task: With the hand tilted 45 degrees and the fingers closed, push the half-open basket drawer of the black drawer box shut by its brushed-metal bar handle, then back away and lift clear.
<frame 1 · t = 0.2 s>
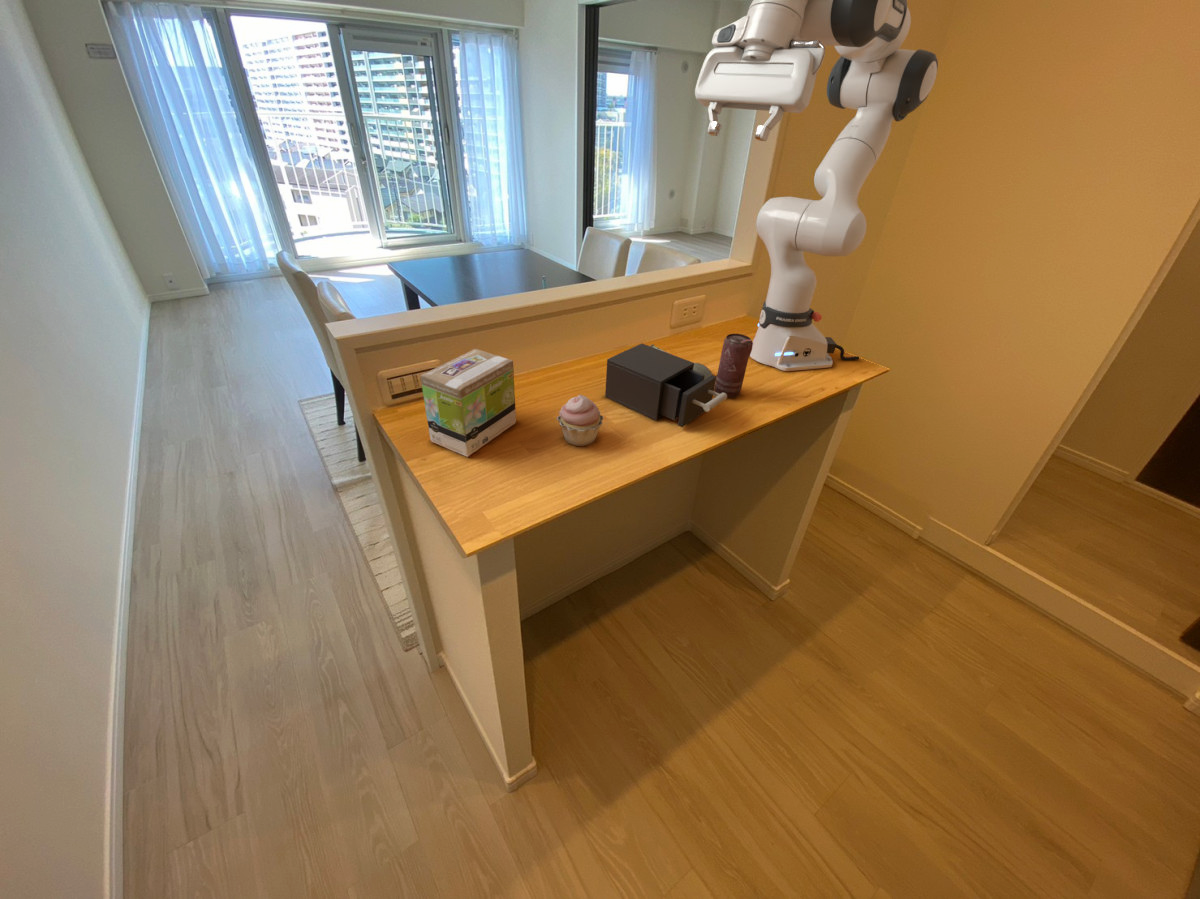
hand: (735, 137, 84), 52 cm above the table, tool tilted 20°, fingers open, 8 cm apart
black drawer box: (646, 399, 114), on the table
basket drawer: (681, 394, 106), point 5 cm above the table, slide at 5.0 cm
can: (727, 393, 118), on the table
cupcake: (579, 438, 99), on the table
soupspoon: (678, 365, 129), on the table
tea box: (475, 433, 99), on the table
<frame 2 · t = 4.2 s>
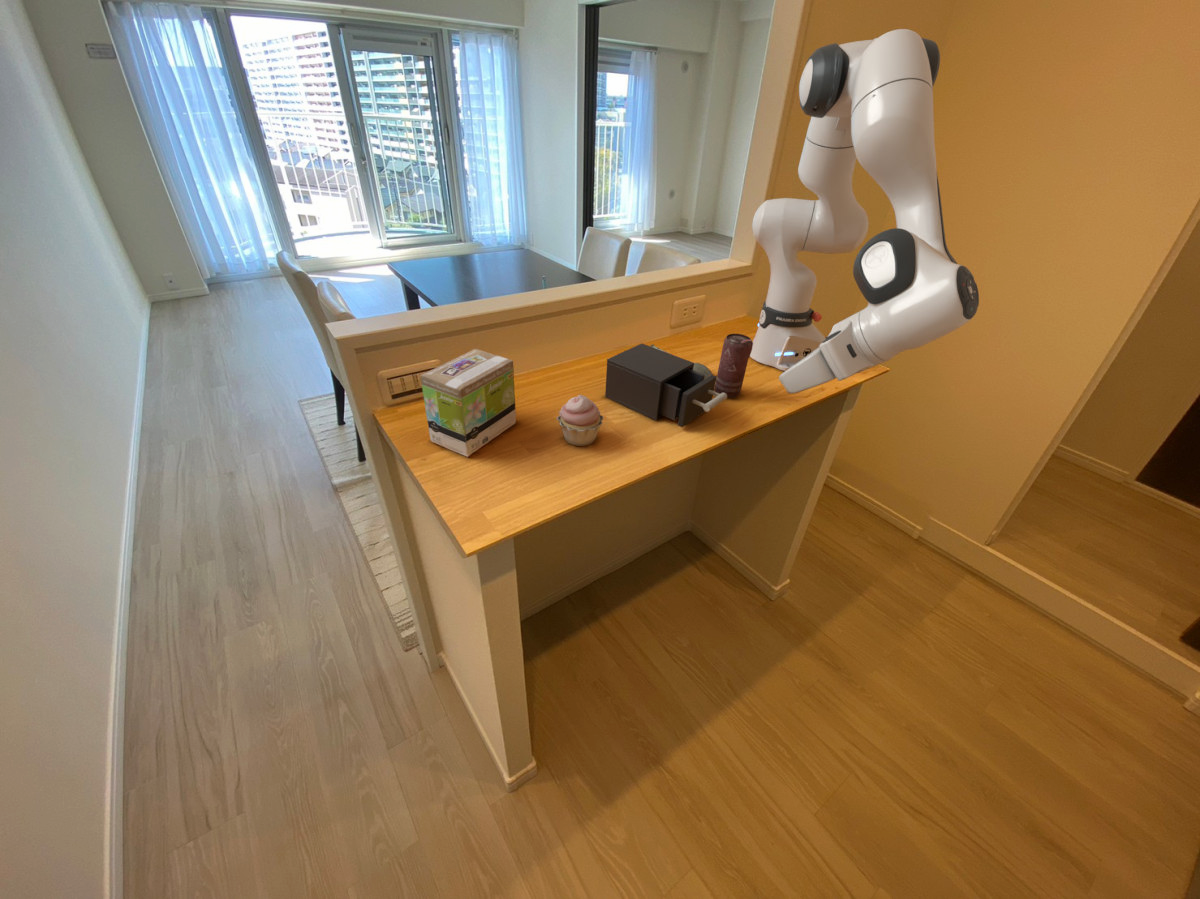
hand: (783, 378, 89), 16 cm above the table, tool tilted 45°, fingers closed
nothing on the table moved.
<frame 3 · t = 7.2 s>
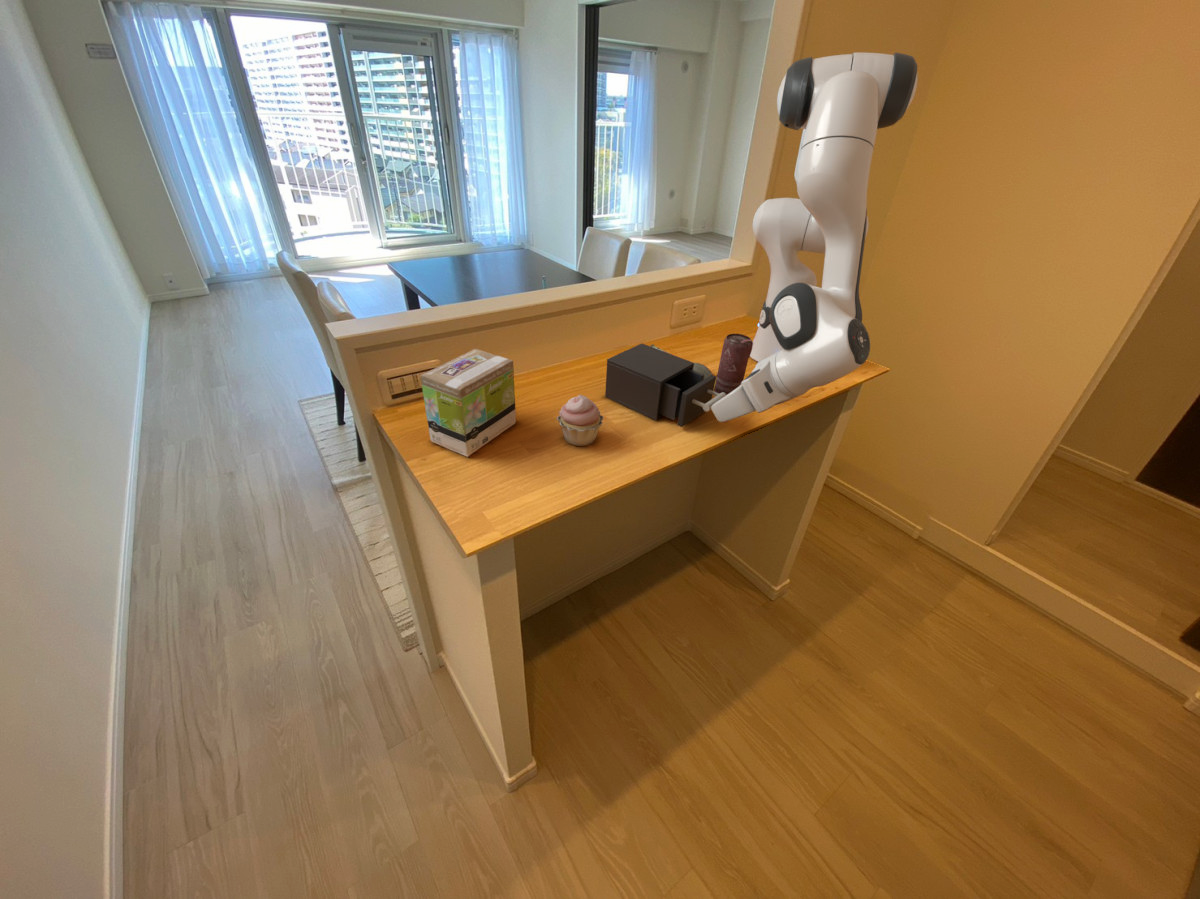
hand: (720, 405, 101), 6 cm above the table, tool tilted 45°, fingers closed, pressing on basket drawer
basket drawer: (681, 394, 106), point 5 cm above the table, slide at 4.9 cm, touching gripper
everything else where it was.
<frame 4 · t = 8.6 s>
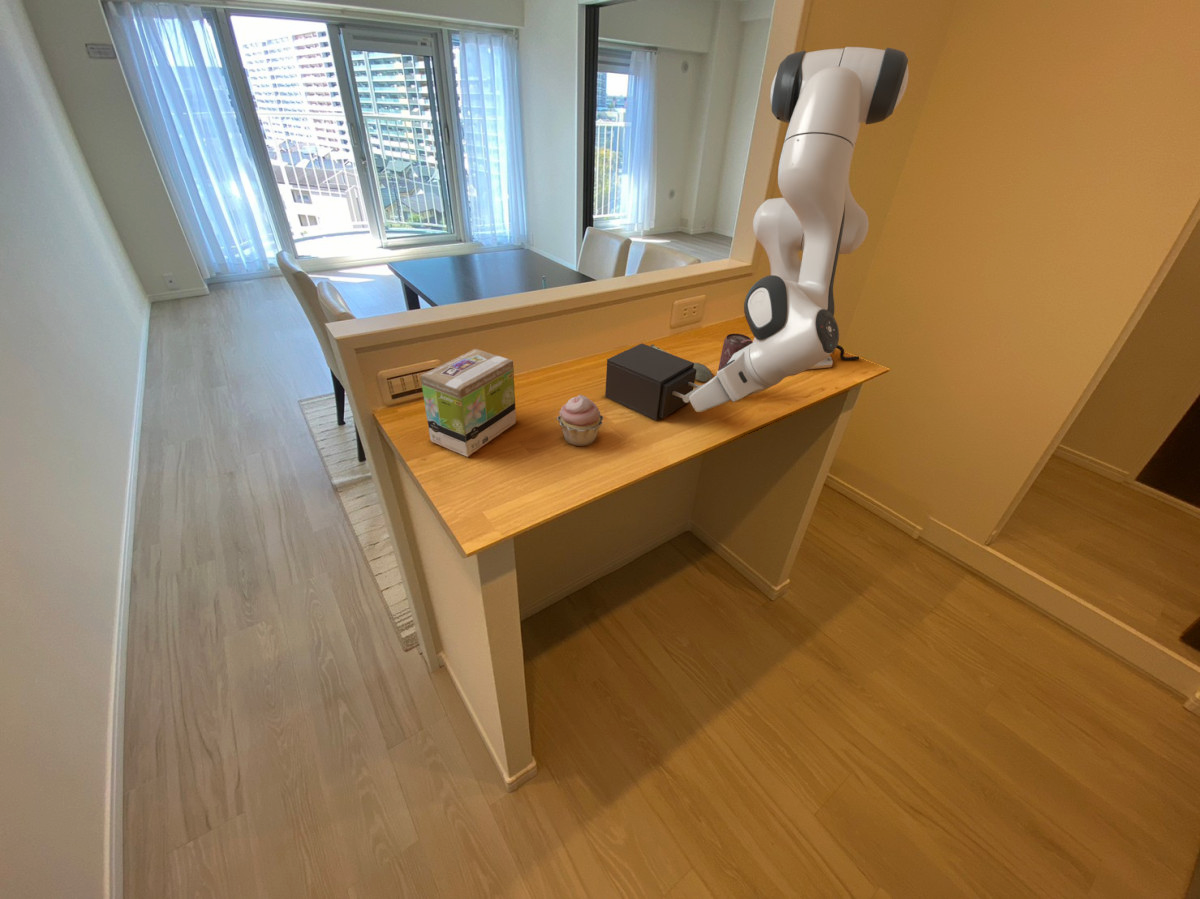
hand: (700, 397, 103), 6 cm above the table, tool tilted 45°, fingers closed, pressing on basket drawer
basket drawer: (662, 386, 109), point 5 cm above the table, slide at 0.0 cm, touching black drawer box, gripper
everything else where it was.
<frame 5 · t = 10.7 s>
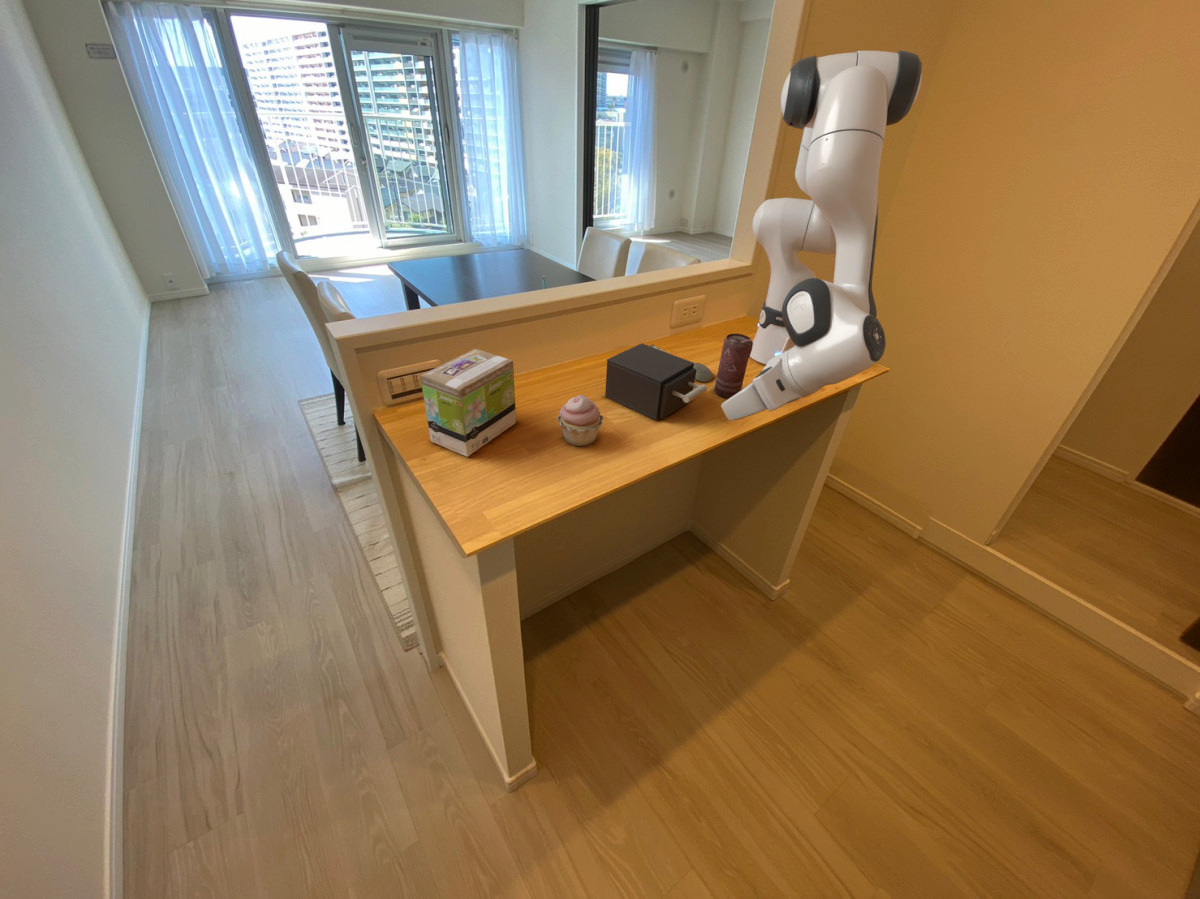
hand: (730, 404, 99), 7 cm above the table, tool tilted 45°, fingers closed
basket drawer: (662, 386, 109), point 5 cm above the table, slide at 0.0 cm
everything else where it was.
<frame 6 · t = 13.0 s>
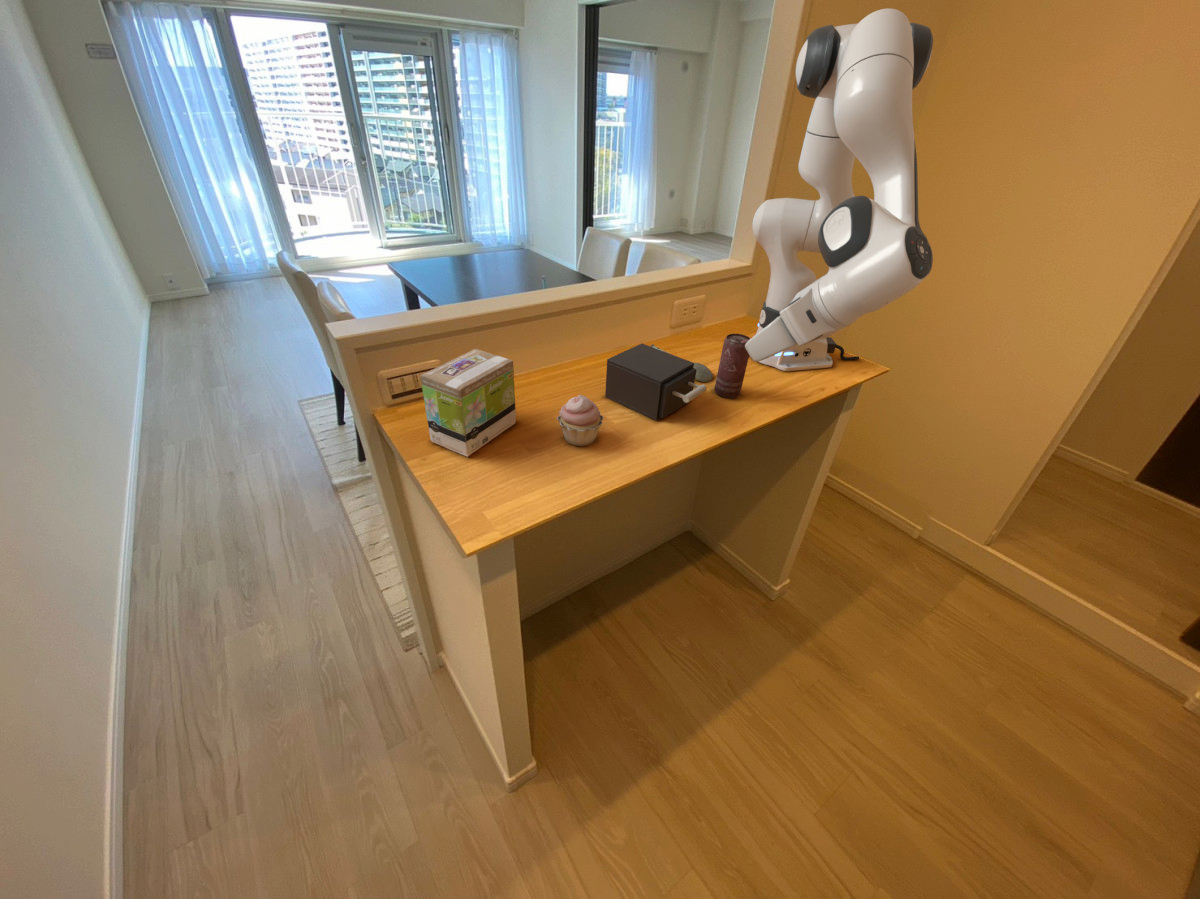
hand: (754, 349, 91), 20 cm above the table, tool tilted 45°, fingers closed
nothing on the table moved.
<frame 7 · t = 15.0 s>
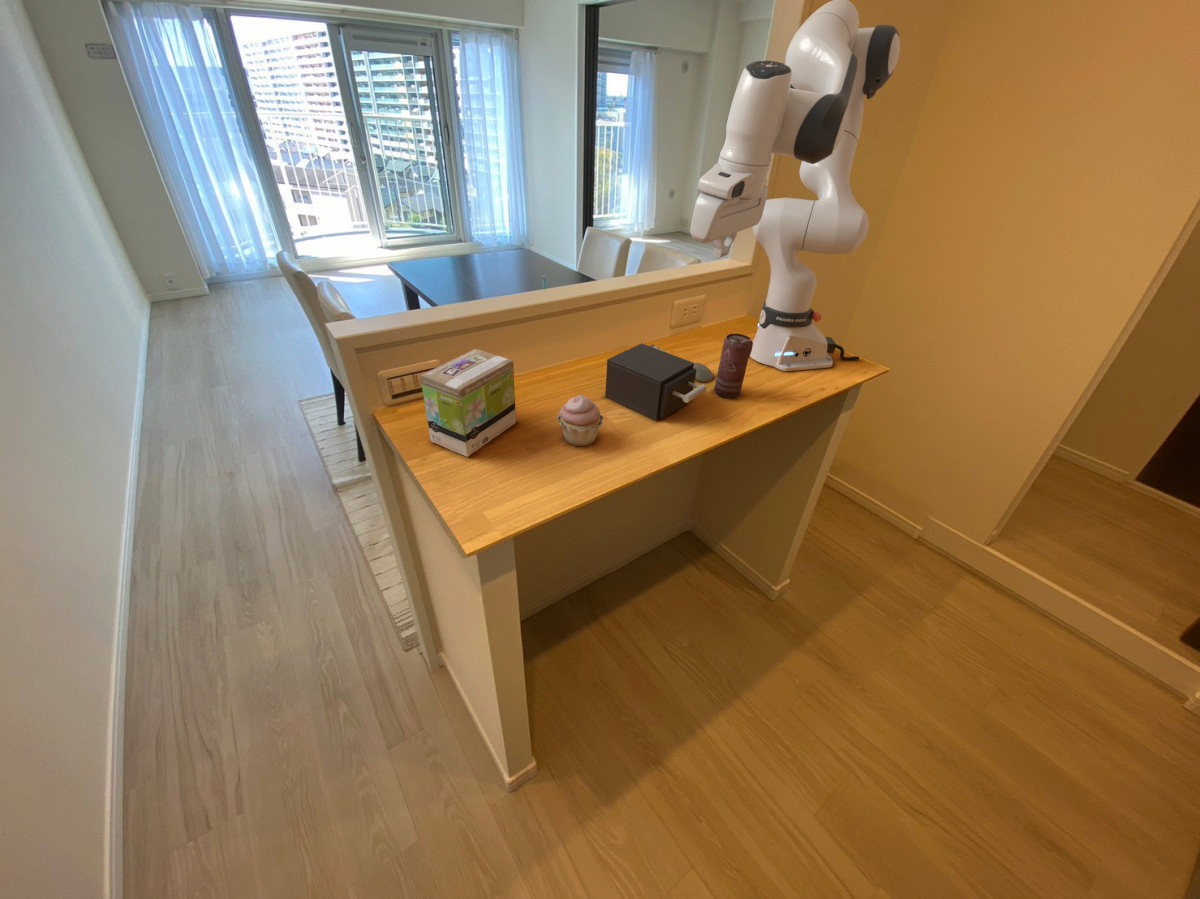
hand: (719, 255, 96), 32 cm above the table, tool pointing down, fingers closed
nothing on the table moved.
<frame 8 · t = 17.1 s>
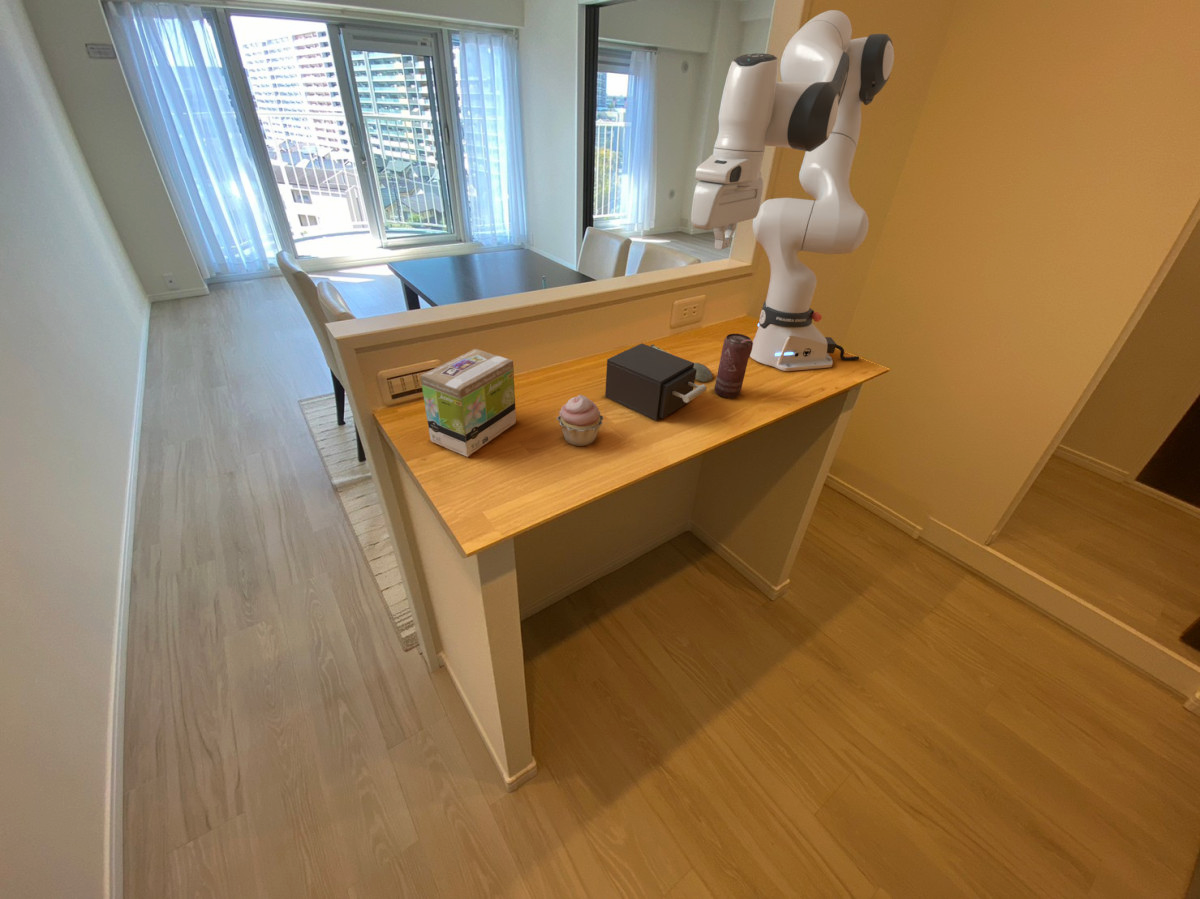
hand: (721, 248, 97), 33 cm above the table, tool pointing down, fingers closed
nothing on the table moved.
at the end: basket drawer slide at 0.0 cm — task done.
